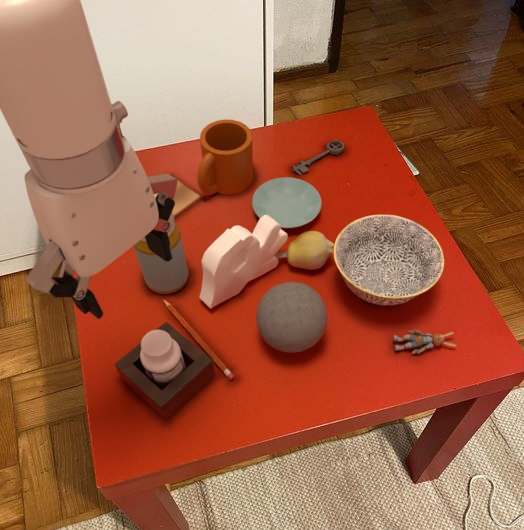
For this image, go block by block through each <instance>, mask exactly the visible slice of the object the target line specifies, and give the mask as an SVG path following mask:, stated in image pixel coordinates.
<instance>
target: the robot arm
mask: <svg viewBox="0 0 524 530" xmlns="http://www.w3.org/2000/svg"><path fill="white" fill-rule="evenodd" d="M0 112H1V113H2V115H3V118H4V119H5V122H6V123H7V125H8V127H9V129H10V132H11V133H12V136H13V137H14V139H15V141H16V143H17V145H18V147H19V149H20V151H21V153H22V155H23V157H24V159H25V161H26V163H27V165H28V167H29V170H28V171H27V172H26V173H25V174H24V183H25V188H26V193H27V197H28V201H29V203H30V207H31V210H32V213H33V215H34V219H35V221H36V224H37V226H38V229H39V231H40V232H41V235H42V237H43V239H44V242H45V245H46V247H45V249H44V250H43V252H42V253H41V254H40V256H39V258H38V259H37V261H36V262H35V264H34V266H33V267H32V269H31V270H30V272H29V273H28V275H27V277H26V279H25V282H26V283H27V284H28V285H29V286H31V287H32V288H33V289H34V290H36V291H38V292H40V293H44V294H46V295H51V296H53V297H54V298H71V300H72V301H73V303H74V305H75V306H76V307H77V309H78V310H79V311H80V312H82V313H83V314H84V315H87V314H88V313H90V314H91V315H93V317H95V318H96V319H98V320H100V319H101V318H103V317H104V311H103V310H102V307H101V305H100V304H99V302H98V300H97V298H96V295H95V294H94V293H93V291H91V290H90V289H89V285H90V282H91V279H92V276H95V275H96V274H98V273H100V272H101V271H102V270H104V269H105V268H107V267H108V266H110V265H111V264H112V263H113V262H115V261H116V260H117V259H118V258H120V257H121V256H122V255H124V254H125V253H126V252H127V251H129V250H130V249H131V248H133V247H134V246H133V245H135V244H136V243H137V242H138V241H140V240H141V239H142V238H143V237H145V239H146V242H147V245H148V248H149V250H151V251H152V252H153V253H155V254H156V255H157V256H159V257H160V258H162V259H163V260H164V261H166V262H167V261H168V262H169V261H170V260H171V259H172V255H171V251H170V247H169V246H170V241H169V237H168V233H167V231H168V230H169V229H170V226H171V224H170V222H169V221H168V220H169V218H170V215H171V213H172V211H173V208H174V206H175V201H174V200H173V198H174V197H175V193H176V188H177V180H178V179H177V178H175V177H173V176H172V175H171V174H169V173H161V174H155V175H149V176H148V175H147V173H146V171H145V169H144V167H143V164H142V163H141V160H140V159H139V157H138V155H137V154H136V151H135V150H134V148H133V146H132V144H131V143H130V141H129V140H128V139H127V137H126V136H125V135H123V132H122V128H121V123H123V120H124V119H126V118H127V117H128V116H129V111H128V109H127V108H126V106H125V104H124V103H123V102H121V101H120V100H117V101H115V102H113V103H112V101H111V98H110V94H109V92H108V88H107V84H106V81H105V77H104V75H103V71H102V68H101V64H100V61H99V58H98V54H97V51H96V47H95V44H94V41H93V37H92V34H91V31H90V28H89V25H88V21H87V17H86V14H85V11H84V8H83V4H82V1H81V0H0ZM170 175H171V176H170ZM156 193H159V194H158V195H157V196H156V198H155V197H154V194H156ZM60 266H61V267H60ZM59 267H60V271H59V274H58V277H57V276H54V275H55V273H56V272H57V270H58V269H59ZM75 273H76V278H75V277H74V276H75Z"/></svg>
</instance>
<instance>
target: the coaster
mask: <svg viewBox="0 0 524 530" xmlns="http://www.w3.org/2000/svg"><path fill="white" fill-rule="evenodd" d="M169 175H170V176H172V175H171V174H169ZM158 194H159V193H156V194H154V195H158ZM200 199H201V195H200V194H198V193H197V192H195V191H194V190H192V189H191V188H190V187H188V186H187V185H185V184H184V183H183V182H181V181H180V180H178V179H177V188H176V193H175V197H174V198H173V200H174V201H175V206H174V208H173V216H174V219H175V218H177V217H178V216H180V214H181V213H183V212H185V210H186V211H187V209H188V208H190V207H191V206H192V205H193V204H195V203H197V202H198V201H199V200H200Z"/></svg>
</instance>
